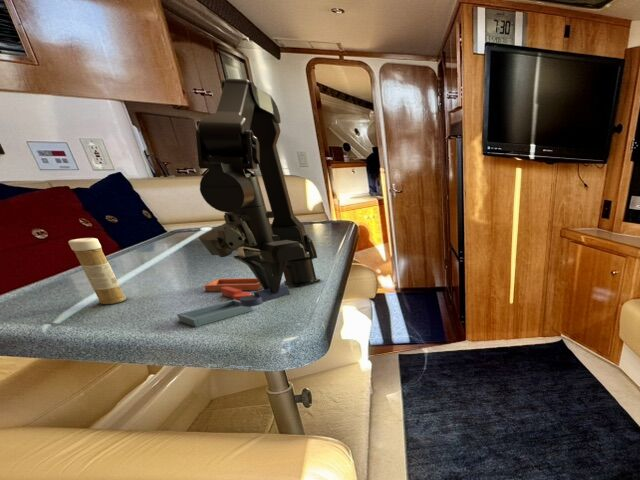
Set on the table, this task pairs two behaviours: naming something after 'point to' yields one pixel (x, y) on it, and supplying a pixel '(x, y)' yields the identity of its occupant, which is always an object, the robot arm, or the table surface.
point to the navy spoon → (263, 296)
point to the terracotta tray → (234, 284)
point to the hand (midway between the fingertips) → (272, 292)
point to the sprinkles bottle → (97, 270)
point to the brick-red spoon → (233, 293)
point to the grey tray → (213, 313)
